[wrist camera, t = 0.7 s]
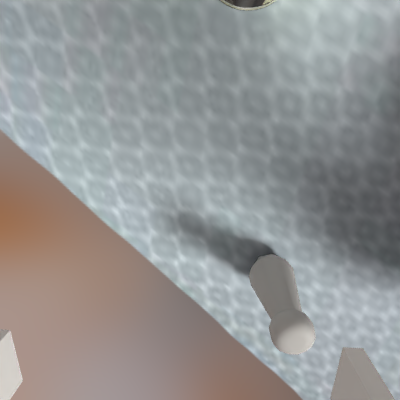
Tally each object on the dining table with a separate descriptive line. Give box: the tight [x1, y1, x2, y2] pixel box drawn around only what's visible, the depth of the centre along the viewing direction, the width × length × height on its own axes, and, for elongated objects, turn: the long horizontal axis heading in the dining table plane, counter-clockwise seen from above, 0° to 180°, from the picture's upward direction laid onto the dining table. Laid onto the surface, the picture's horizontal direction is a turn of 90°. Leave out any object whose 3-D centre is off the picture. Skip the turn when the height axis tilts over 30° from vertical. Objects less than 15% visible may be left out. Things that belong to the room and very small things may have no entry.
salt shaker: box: [249, 254, 316, 354], centre depth 33 cm, size 6×6×13 cm
